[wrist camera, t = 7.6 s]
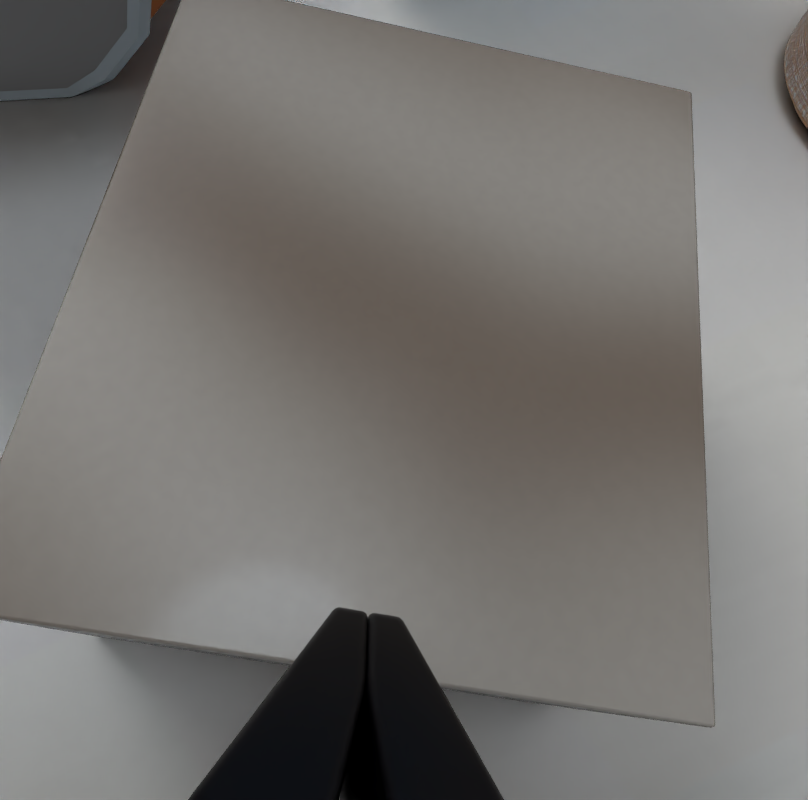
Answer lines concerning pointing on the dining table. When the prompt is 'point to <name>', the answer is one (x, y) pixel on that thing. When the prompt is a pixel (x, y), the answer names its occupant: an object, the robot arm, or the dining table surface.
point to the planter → (798, 68)
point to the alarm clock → (67, 44)
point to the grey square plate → (381, 368)
